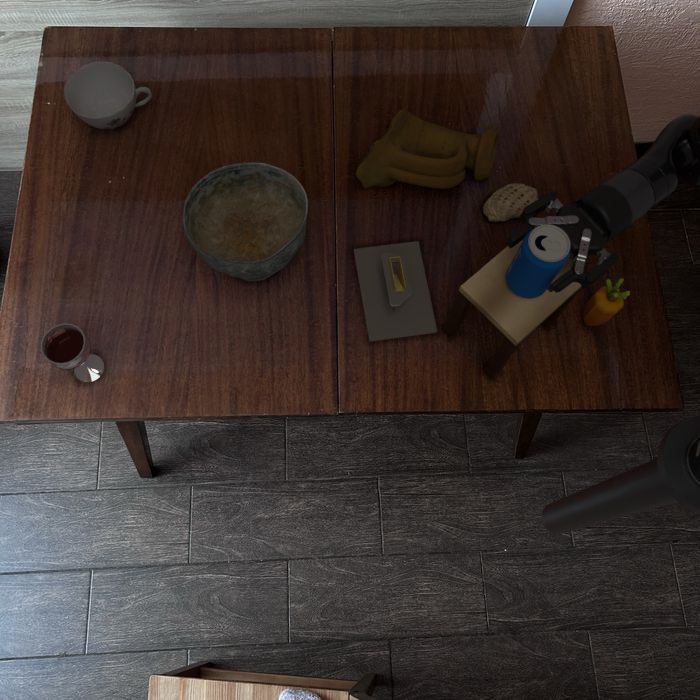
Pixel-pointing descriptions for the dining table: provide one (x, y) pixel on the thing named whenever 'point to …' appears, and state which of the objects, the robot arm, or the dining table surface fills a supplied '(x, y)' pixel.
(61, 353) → the wineglass
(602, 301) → the carrot
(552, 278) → the beverage can
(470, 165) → the brown looped sculpture
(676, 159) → the robot arm
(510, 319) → the stool
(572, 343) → the dining table surface
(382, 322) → the platform
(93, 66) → the teacup
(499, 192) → the seashell
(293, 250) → the bowl
